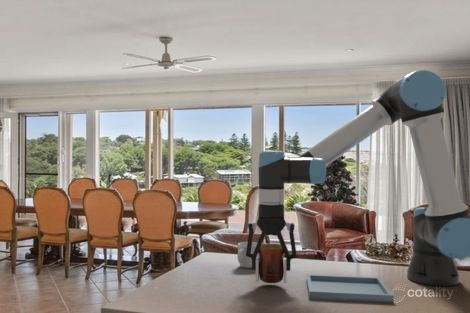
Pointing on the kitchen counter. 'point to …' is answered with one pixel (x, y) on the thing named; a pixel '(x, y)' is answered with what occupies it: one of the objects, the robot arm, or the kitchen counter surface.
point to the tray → (348, 288)
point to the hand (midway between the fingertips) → (271, 281)
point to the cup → (242, 257)
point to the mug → (271, 263)
